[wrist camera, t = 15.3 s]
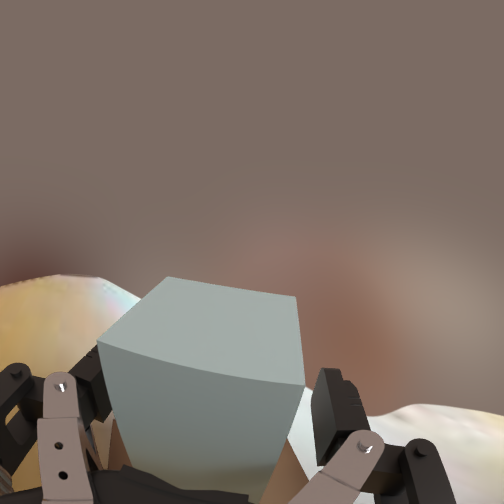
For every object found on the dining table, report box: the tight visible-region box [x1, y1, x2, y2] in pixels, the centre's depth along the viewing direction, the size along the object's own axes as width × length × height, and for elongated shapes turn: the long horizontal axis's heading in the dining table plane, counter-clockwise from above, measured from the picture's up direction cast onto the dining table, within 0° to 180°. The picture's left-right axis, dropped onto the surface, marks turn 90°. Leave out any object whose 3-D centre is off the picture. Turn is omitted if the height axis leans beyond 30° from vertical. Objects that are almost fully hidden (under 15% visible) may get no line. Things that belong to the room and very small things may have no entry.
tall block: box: [97, 277, 305, 504], centre depth 9 cm, size 5×5×12 cm
